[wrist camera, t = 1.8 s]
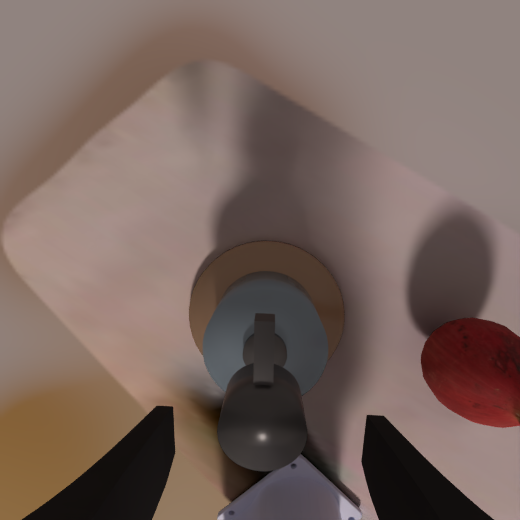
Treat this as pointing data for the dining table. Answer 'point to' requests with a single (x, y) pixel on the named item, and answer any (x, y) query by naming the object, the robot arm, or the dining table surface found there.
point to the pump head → (262, 409)
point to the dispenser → (267, 310)
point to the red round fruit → (475, 370)
